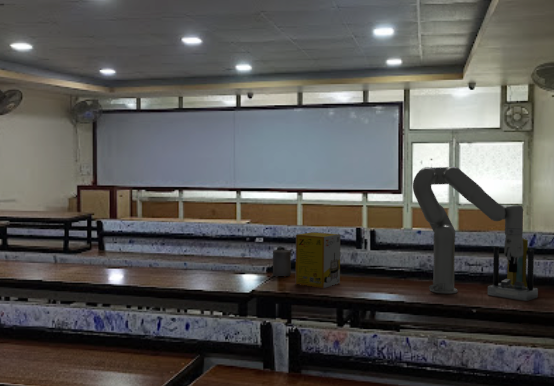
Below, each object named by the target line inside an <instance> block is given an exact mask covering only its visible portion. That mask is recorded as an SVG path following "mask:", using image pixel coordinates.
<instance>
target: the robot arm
mask: <svg viewBox="0 0 554 386" xmlns="http://www.w3.org/2000/svg"><path fill="white" fill-rule="evenodd" d="M432 185H434V186H435V185H449V186H450V187H451V188H453V189H454V190H455V191H457V192H458V193H459V195H461V197H463V198H464V199H466V201H468V202H469V203H471V204H472V205H474V206H475V207H476V208H477V209H478V210H479V211H481V212H482V213H483V214H484V215H485V216H487V217H488V218H489V219H490V220H491V221H494V222H500V221H502V220H504V235H505V239H504V257H506V260H507V264H508V263H509V272H514V273H515V272H517V264H516V263H518V259H519V257H521V256H523V239H524V238H523V235H524V234H523V233H524V232H523V231H524V230H523V229H524V228H523V226H524V225H523V223H524V207H523V206H522V205H520V204H509V205H508V204H507V205H506V204H501V203H499V202H498V201H496V200H495V199H494V198H492V197H491V196H490V195H489V194H488V193H487V192H486V191H485V190H484V189H483V188H482V187H481V185H479V184H478V183H477V182H476V181H474V180H473V179H472V178H471V177H470V176H468V175H467V174H466V173H465V172H464V171H463V170H461V169H460V168H459V167H458V166H454V165H452V166H444V167H442V166H441V167H440V166H439V167H429V166H425V167H422V168H420V170H418V172H417V173H416V175H415V176H414V178H413V181H412V191H413V194H414V197H415V198H416V201H417V203H418V205H419V208H420V209H421V210H420V211H422V213H423V216H424V218H425V220H426V221H427V222H428V224H429V225H430V228H431V229H432V232H433V270H432V271H433V273H432V275H433V276H432V277H433V281H432V284H431V285H429V286H428V288H429V291H430V292H432V293H435V294H445V295H446V294H448V295H451V294H452V295H453V294H457V293H458V289H457V288H455V249H456V248H455V247H456V246H455V245H456V243H455V241H456V229H455V228H454V225H453V224H452V221H451V220H450V217H449V216H448V214H447V212H446V209H445V208H444V207H443V206H442V205H441V204H440V203H439V201H438V199H437V196H436V195H435V193H434V191H433V188H432Z"/></svg>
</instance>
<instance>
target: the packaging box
mask: <svg viewBox="0 0 554 386" xmlns="http://www.w3.org/2000/svg"><path fill="white" fill-rule="evenodd" d="M338 283H339V284H340V283H341V234H340V233H339V234H338V233H326V232H325V233H324V232H314V231H313V232H305V233H297V234H295V285H297V284H301V285H300V286H304V285H307V286H306V287H311V286H312V288H320V289H325V288H329V287H333V286H336V285H338ZM335 284H336V285H335ZM332 285H333V286H332Z"/></svg>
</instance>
